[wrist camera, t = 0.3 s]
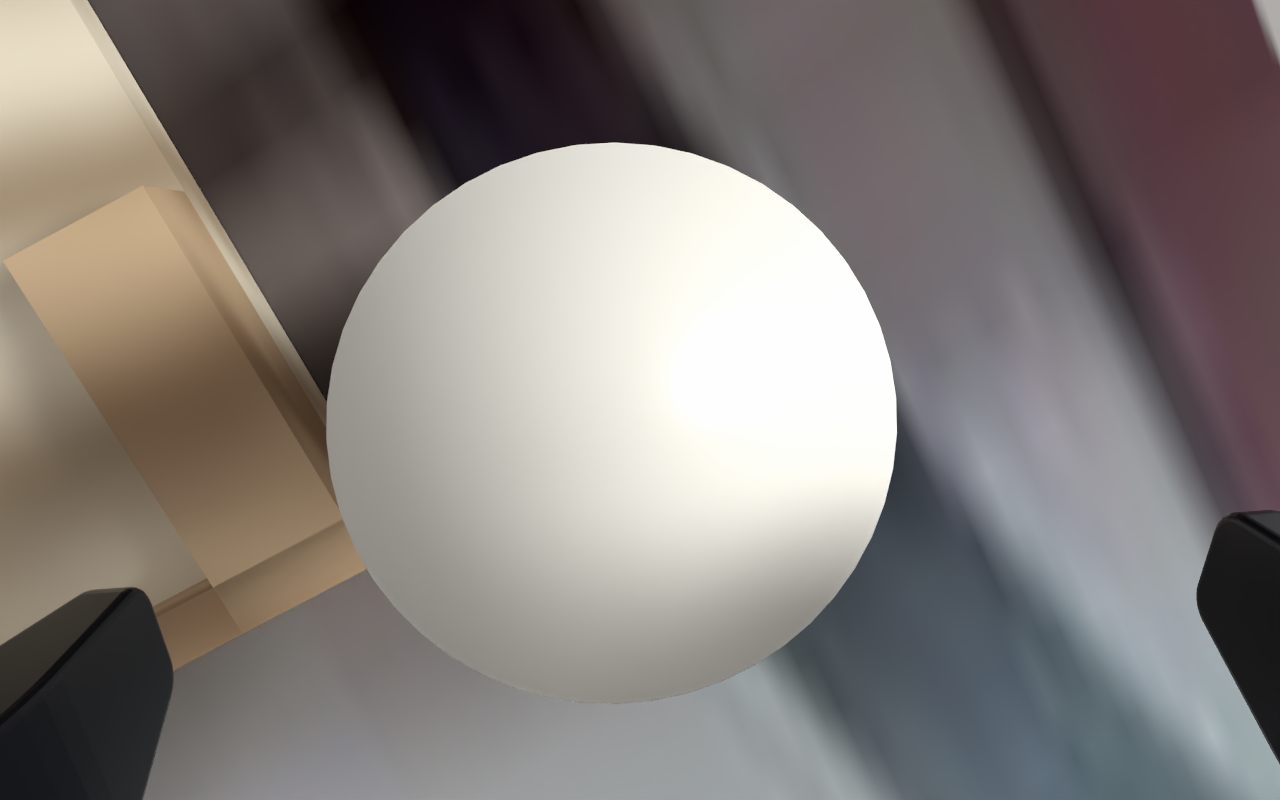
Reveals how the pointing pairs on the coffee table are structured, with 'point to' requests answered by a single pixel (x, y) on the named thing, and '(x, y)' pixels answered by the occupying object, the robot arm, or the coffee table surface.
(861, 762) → the coffee table surface
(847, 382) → the bobbin
